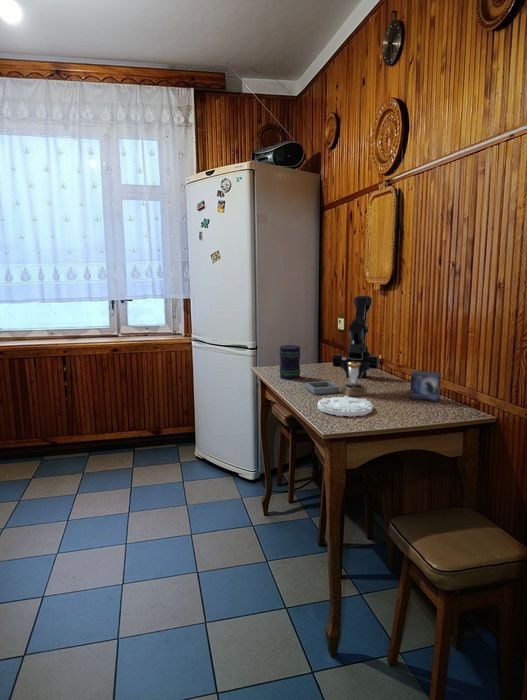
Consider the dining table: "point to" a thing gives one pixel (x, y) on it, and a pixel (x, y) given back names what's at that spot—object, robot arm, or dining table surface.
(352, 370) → the pin
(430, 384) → the small box
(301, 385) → the dining table surface
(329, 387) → the tray
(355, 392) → the socket block
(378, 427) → the dining table surface
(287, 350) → the storage jar
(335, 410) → the giant coin
